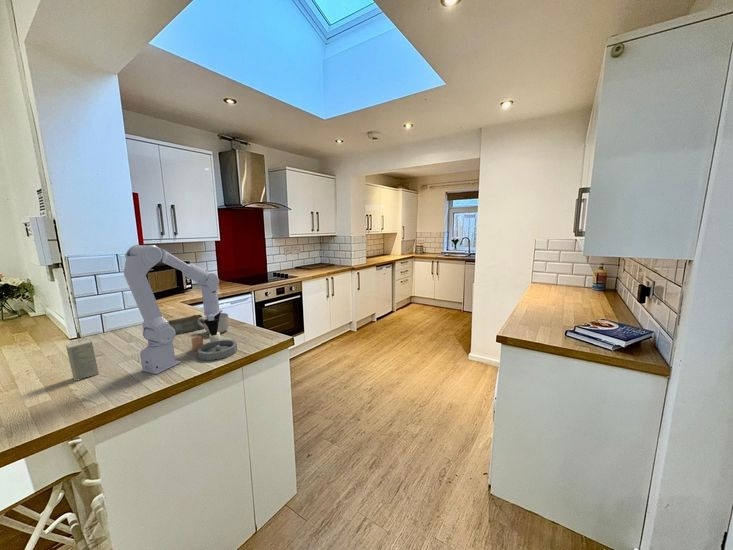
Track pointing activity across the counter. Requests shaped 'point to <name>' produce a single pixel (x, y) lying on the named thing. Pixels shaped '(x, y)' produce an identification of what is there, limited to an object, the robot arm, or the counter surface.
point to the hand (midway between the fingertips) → (214, 332)
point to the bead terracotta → (197, 342)
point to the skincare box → (82, 359)
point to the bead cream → (215, 337)
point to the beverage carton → (186, 324)
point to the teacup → (222, 323)
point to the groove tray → (219, 354)
